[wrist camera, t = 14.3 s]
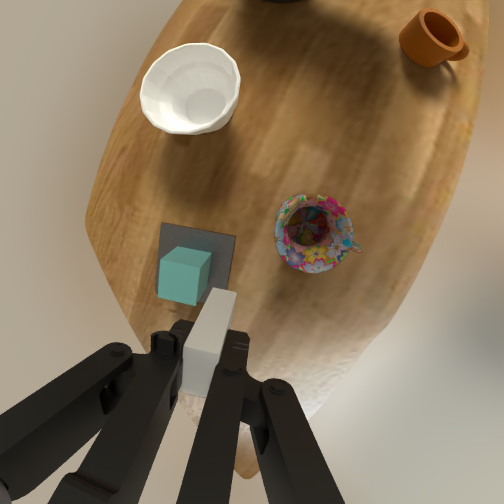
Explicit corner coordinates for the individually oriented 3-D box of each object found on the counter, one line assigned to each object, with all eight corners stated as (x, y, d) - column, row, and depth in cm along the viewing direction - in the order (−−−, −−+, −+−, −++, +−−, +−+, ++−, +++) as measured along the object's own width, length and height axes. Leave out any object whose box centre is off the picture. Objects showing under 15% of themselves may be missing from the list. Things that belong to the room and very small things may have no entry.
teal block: (177, 246, 43) (160, 259, 36) (211, 253, 43) (200, 267, 36) (174, 278, 45) (157, 297, 37) (206, 286, 45) (195, 306, 37)
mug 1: (264, 240, 43) (263, 259, 33) (284, 182, 41) (290, 182, 30) (335, 264, 43) (354, 289, 33) (357, 210, 41) (383, 219, 31)
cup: (153, 116, 39) (121, 100, 28) (205, 59, 36) (186, 27, 25) (210, 161, 40) (190, 155, 30) (264, 101, 38) (263, 76, 27)
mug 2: (448, 85, 34) (476, 74, 25) (394, 51, 33) (415, 31, 25) (453, 53, 31) (478, 39, 23) (402, 20, 31) (421, -1, 22)
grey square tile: (162, 222, 43) (145, 229, 37) (235, 236, 43) (230, 245, 37) (156, 290, 46) (141, 306, 40) (223, 306, 46) (217, 324, 40)
